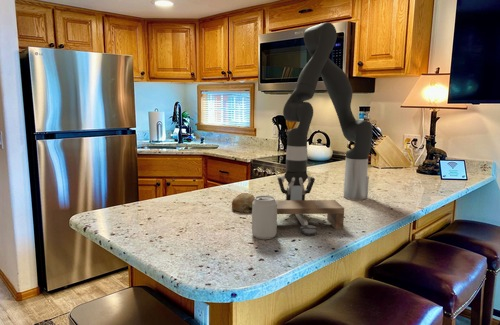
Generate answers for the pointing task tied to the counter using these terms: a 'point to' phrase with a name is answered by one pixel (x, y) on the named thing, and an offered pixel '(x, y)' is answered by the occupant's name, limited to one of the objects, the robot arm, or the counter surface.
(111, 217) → the counter surface
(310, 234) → the disc
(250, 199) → the bread roll
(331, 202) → the riser
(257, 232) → the can
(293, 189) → the mallet tool
